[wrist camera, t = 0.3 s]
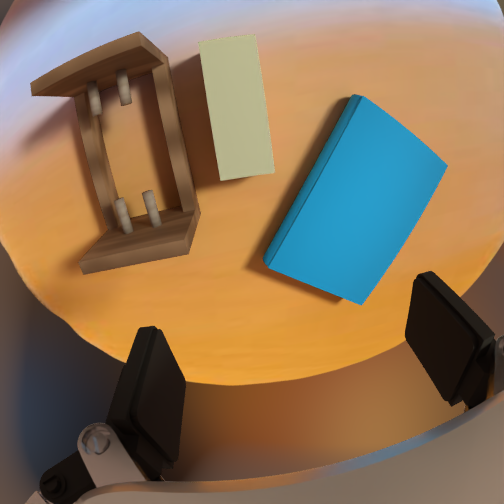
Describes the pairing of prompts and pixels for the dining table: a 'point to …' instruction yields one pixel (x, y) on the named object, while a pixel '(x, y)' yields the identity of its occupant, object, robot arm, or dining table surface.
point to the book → (356, 204)
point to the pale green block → (237, 106)
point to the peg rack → (113, 208)
